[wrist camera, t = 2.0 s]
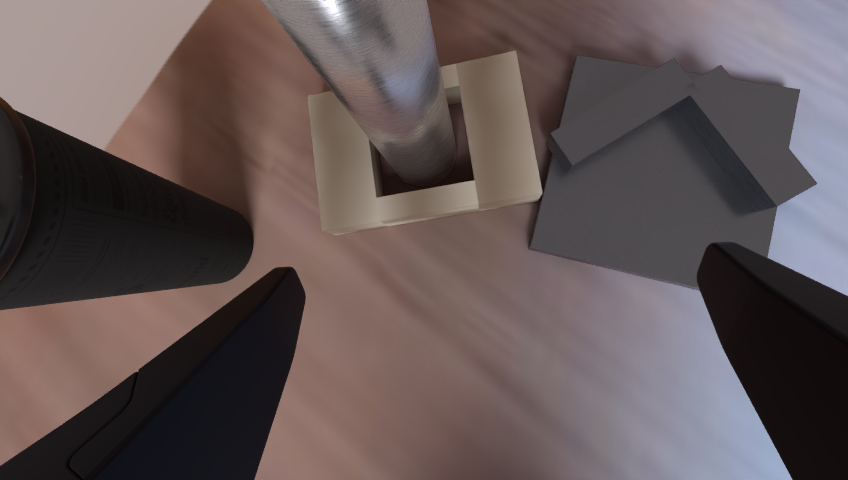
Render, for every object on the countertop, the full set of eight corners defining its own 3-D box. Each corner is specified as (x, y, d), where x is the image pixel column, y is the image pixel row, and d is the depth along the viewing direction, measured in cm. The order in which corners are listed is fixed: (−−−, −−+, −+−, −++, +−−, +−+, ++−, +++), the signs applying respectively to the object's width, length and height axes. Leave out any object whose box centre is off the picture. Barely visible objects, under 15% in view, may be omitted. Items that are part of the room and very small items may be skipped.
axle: (411, 199, 23) (261, 19, 8) (378, 144, 24) (181, -123, 8) (469, 163, 23) (437, -99, 7) (435, 109, 24) (339, -235, 8)
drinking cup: (146, 224, 26) (-921, 29, 6) (243, 163, 25) (-595, -261, 6) (191, 329, 25) (-991, 501, 5) (294, 267, 24) (-570, 181, 4)
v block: (756, 304, 20) (794, 306, 18) (519, 246, 22) (523, 242, 20) (795, 100, 21) (837, 75, 18) (564, 63, 23) (573, 37, 20)
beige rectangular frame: (513, 70, 23) (515, 50, 21) (537, 201, 22) (542, 193, 20) (321, 111, 25) (307, 96, 23) (335, 235, 24) (321, 230, 22)
